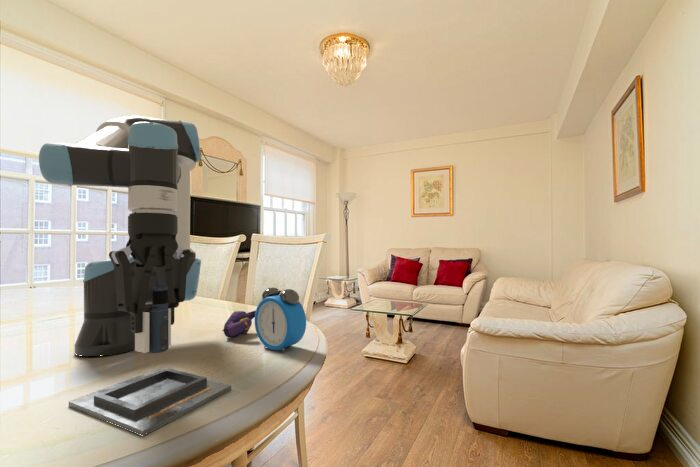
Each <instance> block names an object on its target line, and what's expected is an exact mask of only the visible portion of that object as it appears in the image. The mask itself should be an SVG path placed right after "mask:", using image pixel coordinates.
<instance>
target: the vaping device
mask: <svg viewBox="0 0 700 467" xmlns="http://www.w3.org/2000/svg"><path fill="white" fill-rule="evenodd" d="M167 291H168V286H164V281H159V282H157V287H153V288H152V298H153V299H152V303H146V304H145V310H144V312H148V313H149V352H146V353H145V354H161V353H164V352H166V351H168V350H169V346H168V292H167Z"/></svg>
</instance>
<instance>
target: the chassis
mask: <svg viewBox="0 0 700 467" xmlns="http://www.w3.org/2000/svg"><path fill="white" fill-rule="evenodd" d="M229 391H232V385H231V384H228V383H223V382H219V381H216V380H212V379H208V377H205V376H202V375H199V374H193V373H189V372H186V371H181V370H177V369H174V368H169V367H167V368H162V367H159V368H157V369H154V370H152V371H151V370H150V371H149V372H145V373H143V374H140V375H138V376H135V377H132V378H129V379H127V380H123V381H120V382H118V383H115V384H113V385H109V386H107V387H104V388H101V389H99V390H97V391H94V392H91V393H89V394H86V395H82V396H79V397H77V398H75V399H71V400H69V401H68V408H69V407H70V408H71V407H72V409H75V410H76V411H79V412H80V413H81V412H82V413H84V414H86V413H87V414H86V415H89V414H90V415H89V416H91V415H92V416H91V417H93V416H94V417H93V418H96V417H97V418H96V419H98V418H100V419H99V420H101V419H103V420H105V421H104V422H106V421H108V422H111V423H113V424H116V425H119V426H121V427H123V428H126V429H128V430H131V431H133V432H136V433H138V434H141V435H145V434H146V433H149V432H151V431H153V430H155V429H156V430H158V429H160V428H162V427H163V425H164V426H165V424H166V425H167V423H168V424H170V423H172V422H173V421H175V420H177V419H179V418H181V417H182V416H185V415H186V414H188V413H190V412H192V411H194V410H196V409H197V408H199V407H202V406H203V405H205V404H207V403H209V402H211V401H212V400H215V399H217V398H219V397H220V396H223V395H225V394H226V393H228V392H229ZM103 420H102V421H103ZM108 422H107V423H108ZM169 422H170V423H169ZM111 423H110V424H111ZM113 424H112V425H113ZM161 426H162V427H161ZM159 427H160V428H159ZM123 428H122V429H123ZM157 428H158V429H157ZM128 430H127V431H128ZM156 430H155V431H156ZM133 432H132V433H133ZM153 432H154V431H153ZM151 433H152V432H151ZM149 434H150V433H149ZM145 436H146V435H145Z"/></svg>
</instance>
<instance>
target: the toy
mask: <svg viewBox="0 0 700 467" xmlns="http://www.w3.org/2000/svg"><path fill="white" fill-rule="evenodd" d="M255 312H256V310H252V311H250V312H246V311H243V310H242V311H240V310H239V311H238V310H237V311H233V312H232V313H231V314H230V316H229V318H228V319H227V320H226V322H225V323H224V325H223V329H222V330H221V332H223V334H224V336H225V337H227V338H228V339H231V338H232V339H233V338H238V337H239V336H243V335H248V332H249V331H250V329H251V327H252V324H253V322H252V321H253V319H255Z"/></svg>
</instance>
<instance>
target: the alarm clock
mask: <svg viewBox="0 0 700 467" xmlns="http://www.w3.org/2000/svg"><path fill="white" fill-rule="evenodd" d="M255 311H256V312H255V317H254V327H255V332H256V335H257V337H258V339H259V341H260V342H261V344H262V345H264V346H263V348H264V349H265V348H267V349H269V350H271V351H281V352H282V353H283V352H284V353H285V348H288V347H291V346H293V345H295V344H298V343H299V342H300V341H301V340H302V339H303V337H304V335H305V333H306V329H307V316H306V313H305V312H306V311H305V309H304V306H303V305H302V303H301V301H300V295H299V293H298V292H297V291H296V290H294V289H291V288H286V289H283V290H280V289H279V288H277V287H273V286H272V287H267V288H266V289H265V290H264V291H263V292H262V294H261V301H260V302H259V303H258V305H257V307H256V309H255Z"/></svg>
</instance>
